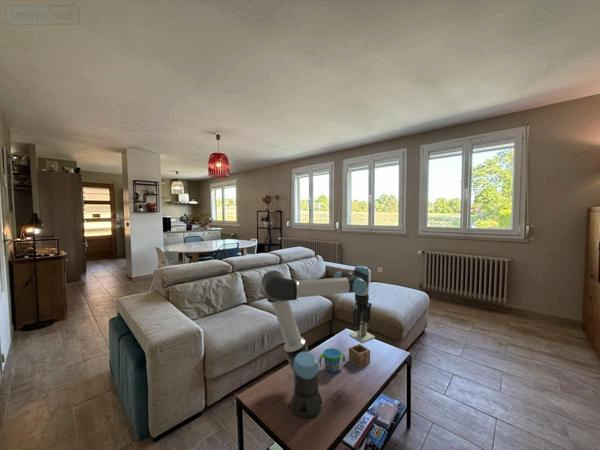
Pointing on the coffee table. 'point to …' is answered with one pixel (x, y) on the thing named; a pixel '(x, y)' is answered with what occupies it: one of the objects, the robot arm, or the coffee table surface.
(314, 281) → the robot arm
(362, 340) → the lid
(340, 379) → the coffee table surface
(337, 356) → the snack cup
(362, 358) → the box
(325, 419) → the coffee table surface
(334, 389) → the coffee table surface
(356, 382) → the coffee table surface
